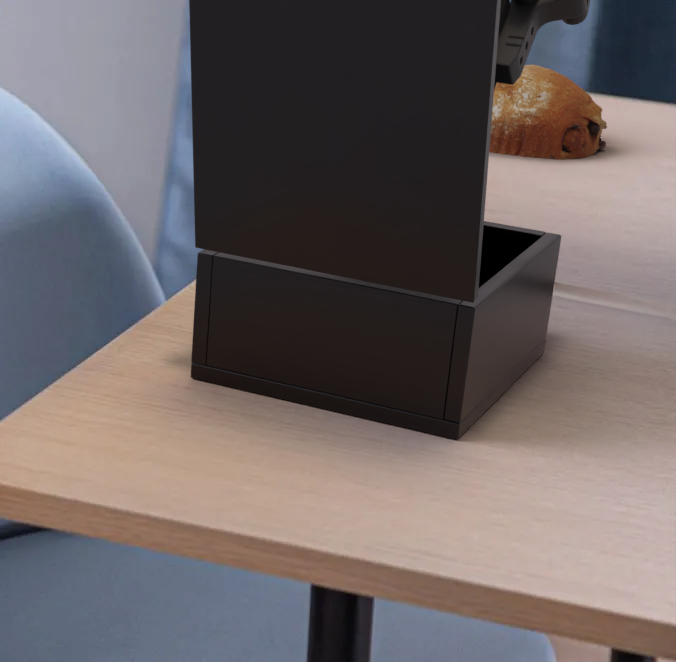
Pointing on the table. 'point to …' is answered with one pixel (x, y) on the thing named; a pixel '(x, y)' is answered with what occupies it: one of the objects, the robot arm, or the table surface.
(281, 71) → the chest lid
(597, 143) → the bread roll
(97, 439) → the table surface
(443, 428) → the chest
